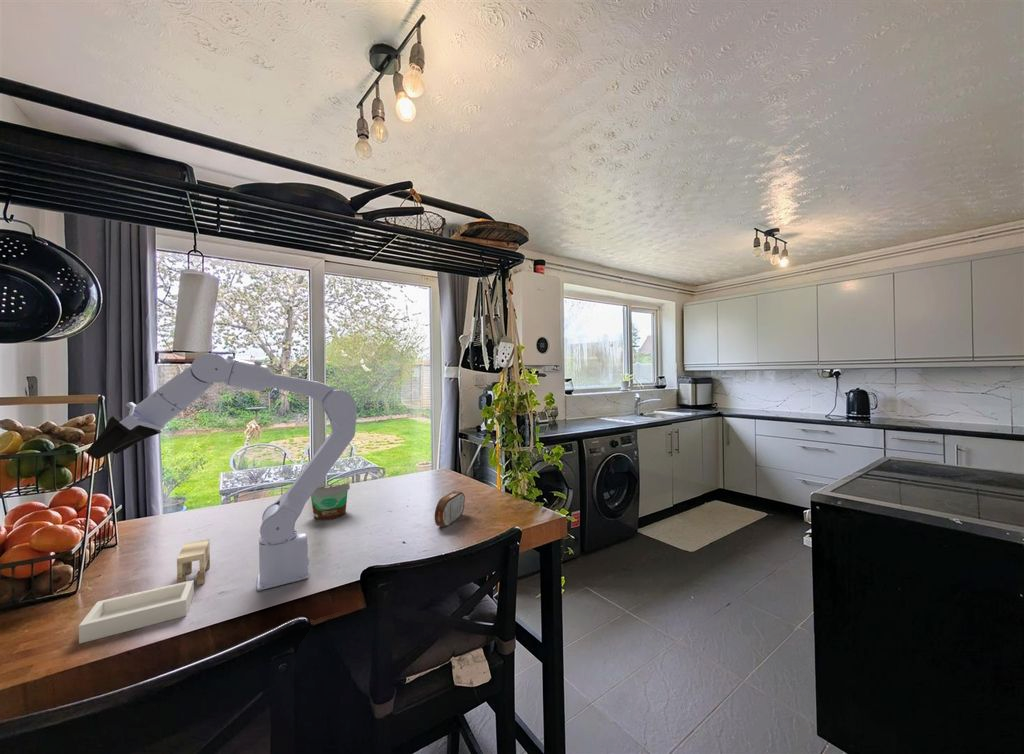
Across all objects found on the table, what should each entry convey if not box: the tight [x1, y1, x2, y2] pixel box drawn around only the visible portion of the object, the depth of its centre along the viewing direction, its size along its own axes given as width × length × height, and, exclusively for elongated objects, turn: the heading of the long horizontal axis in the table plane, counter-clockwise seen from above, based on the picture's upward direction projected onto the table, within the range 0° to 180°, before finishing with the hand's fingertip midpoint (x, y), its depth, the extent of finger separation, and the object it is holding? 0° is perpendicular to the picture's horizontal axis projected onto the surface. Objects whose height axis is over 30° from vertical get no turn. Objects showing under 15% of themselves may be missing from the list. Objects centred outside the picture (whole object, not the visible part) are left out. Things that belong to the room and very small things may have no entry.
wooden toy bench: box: [176, 539, 211, 586], centre depth 87 cm, size 9×4×6 cm, turn 32°
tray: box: [78, 579, 195, 644], centre depth 73 cm, size 14×8×3 cm, turn 122°
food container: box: [310, 480, 351, 521], centre depth 124 cm, size 12×6×10 cm, turn 126°
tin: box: [434, 490, 466, 528], centre depth 118 cm, size 15×3×8 cm, turn 161°
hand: (102, 453), depth 72 cm, fingers open, 7 cm apart
